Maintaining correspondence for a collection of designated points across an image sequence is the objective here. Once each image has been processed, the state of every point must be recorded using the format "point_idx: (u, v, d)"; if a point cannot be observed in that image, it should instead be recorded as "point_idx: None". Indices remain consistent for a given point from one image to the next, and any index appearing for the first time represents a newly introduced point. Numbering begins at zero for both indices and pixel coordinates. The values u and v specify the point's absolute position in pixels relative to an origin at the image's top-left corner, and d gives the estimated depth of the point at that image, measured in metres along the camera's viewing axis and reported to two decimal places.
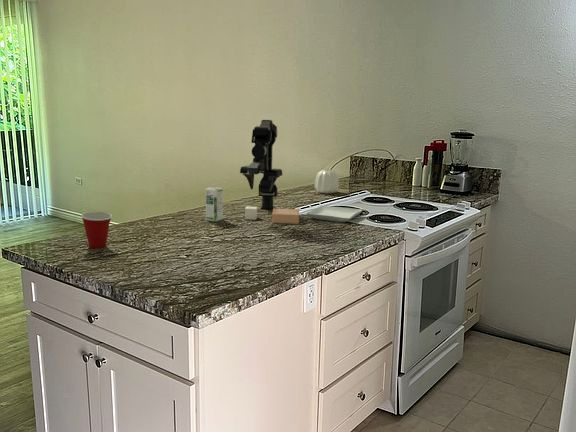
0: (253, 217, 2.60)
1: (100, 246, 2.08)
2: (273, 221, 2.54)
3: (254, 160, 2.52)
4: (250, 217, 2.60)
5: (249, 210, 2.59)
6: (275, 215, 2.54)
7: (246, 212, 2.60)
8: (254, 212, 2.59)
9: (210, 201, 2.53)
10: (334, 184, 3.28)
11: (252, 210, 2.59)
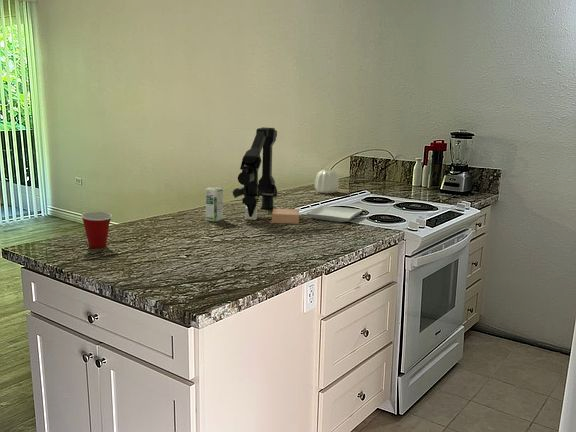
0: (253, 216, 2.60)
1: (100, 246, 2.08)
2: (273, 221, 2.54)
3: None
4: (250, 217, 2.60)
5: None
6: (275, 215, 2.54)
7: (246, 212, 2.59)
8: (254, 212, 2.59)
9: (210, 201, 2.53)
10: (334, 184, 3.28)
11: None
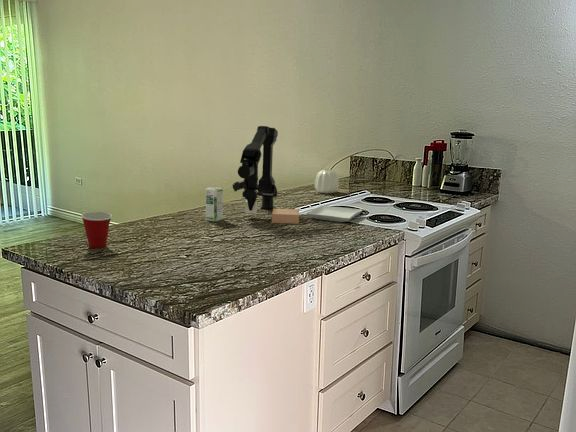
0: (253, 210, 2.59)
1: (100, 246, 2.08)
2: (273, 221, 2.54)
3: None
4: (250, 211, 2.59)
5: None
6: (275, 215, 2.54)
7: (246, 206, 2.59)
8: (254, 205, 2.59)
9: (210, 201, 2.53)
10: (334, 184, 3.28)
11: None
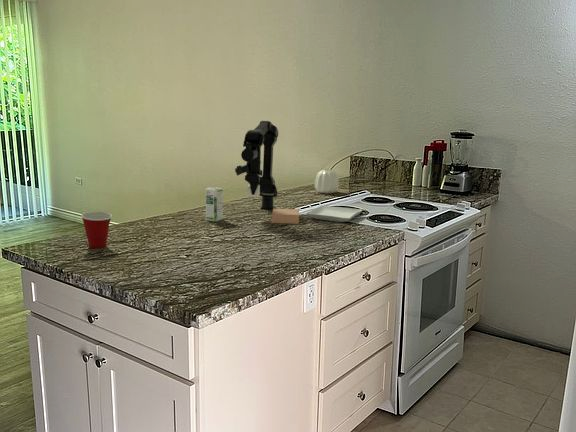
0: (256, 194, 2.57)
1: (100, 246, 2.08)
2: (273, 221, 2.54)
3: None
4: (253, 195, 2.58)
5: None
6: (275, 215, 2.54)
7: (249, 190, 2.57)
8: (257, 190, 2.57)
9: (210, 201, 2.53)
10: (334, 184, 3.28)
11: None
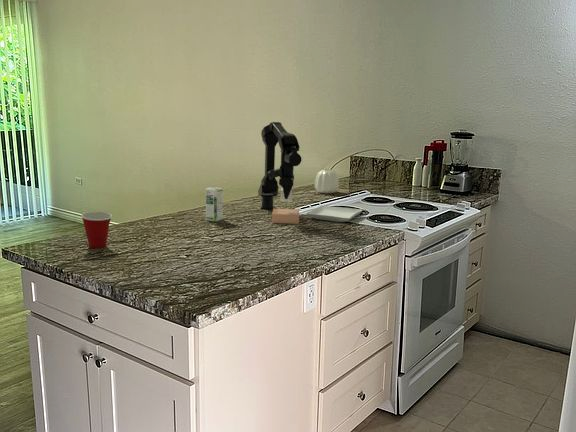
0: (289, 199, 2.56)
1: (100, 246, 2.08)
2: (273, 221, 2.54)
3: (280, 166, 2.57)
4: (286, 199, 2.56)
5: None
6: (275, 215, 2.54)
7: (282, 194, 2.55)
8: (290, 194, 2.55)
9: (210, 201, 2.53)
10: (334, 184, 3.28)
11: None
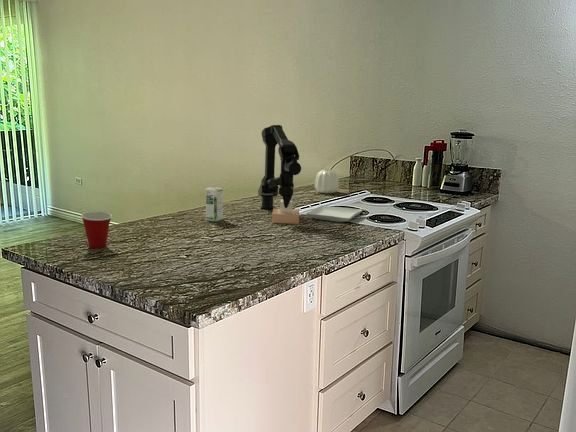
0: (289, 210, 2.57)
1: (100, 246, 2.08)
2: (273, 221, 2.54)
3: None
4: (285, 210, 2.57)
5: None
6: (275, 215, 2.54)
7: (281, 205, 2.56)
8: (289, 205, 2.56)
9: (210, 201, 2.53)
10: (334, 184, 3.28)
11: None
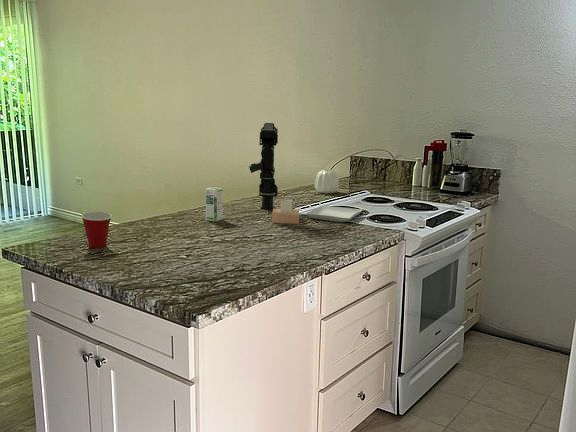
0: (289, 210, 2.57)
1: (100, 246, 2.08)
2: (273, 221, 2.54)
3: None
4: (285, 210, 2.57)
5: (284, 203, 2.56)
6: (275, 215, 2.54)
7: (281, 205, 2.56)
8: (289, 205, 2.56)
9: (210, 201, 2.53)
10: (334, 184, 3.28)
11: (287, 203, 2.56)
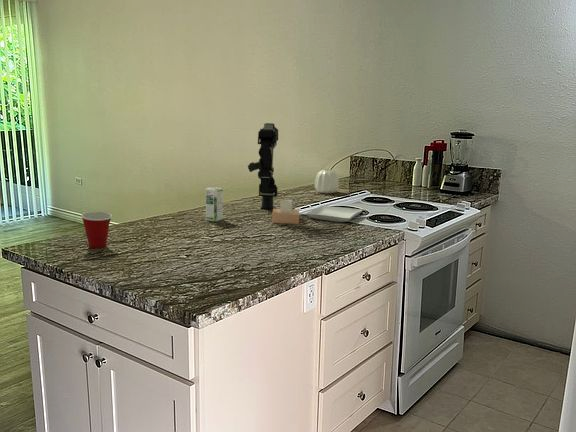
0: (289, 210, 2.57)
1: (100, 246, 2.08)
2: (273, 221, 2.54)
3: None
4: (285, 210, 2.57)
5: (284, 203, 2.56)
6: (275, 215, 2.54)
7: (281, 205, 2.56)
8: (289, 205, 2.56)
9: (210, 201, 2.53)
10: (334, 184, 3.28)
11: (287, 203, 2.56)
